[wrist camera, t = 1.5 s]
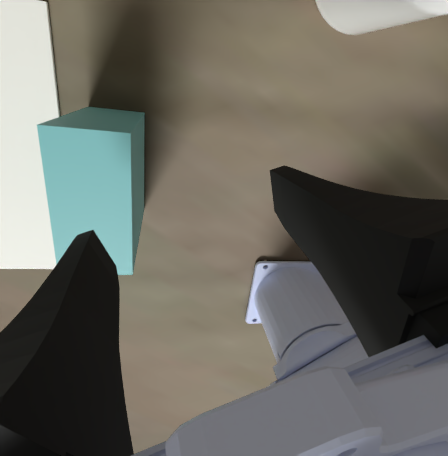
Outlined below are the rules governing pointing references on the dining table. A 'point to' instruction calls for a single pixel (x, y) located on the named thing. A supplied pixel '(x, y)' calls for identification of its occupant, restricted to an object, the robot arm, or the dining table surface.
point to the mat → (25, 133)
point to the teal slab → (95, 179)
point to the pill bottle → (377, 13)
